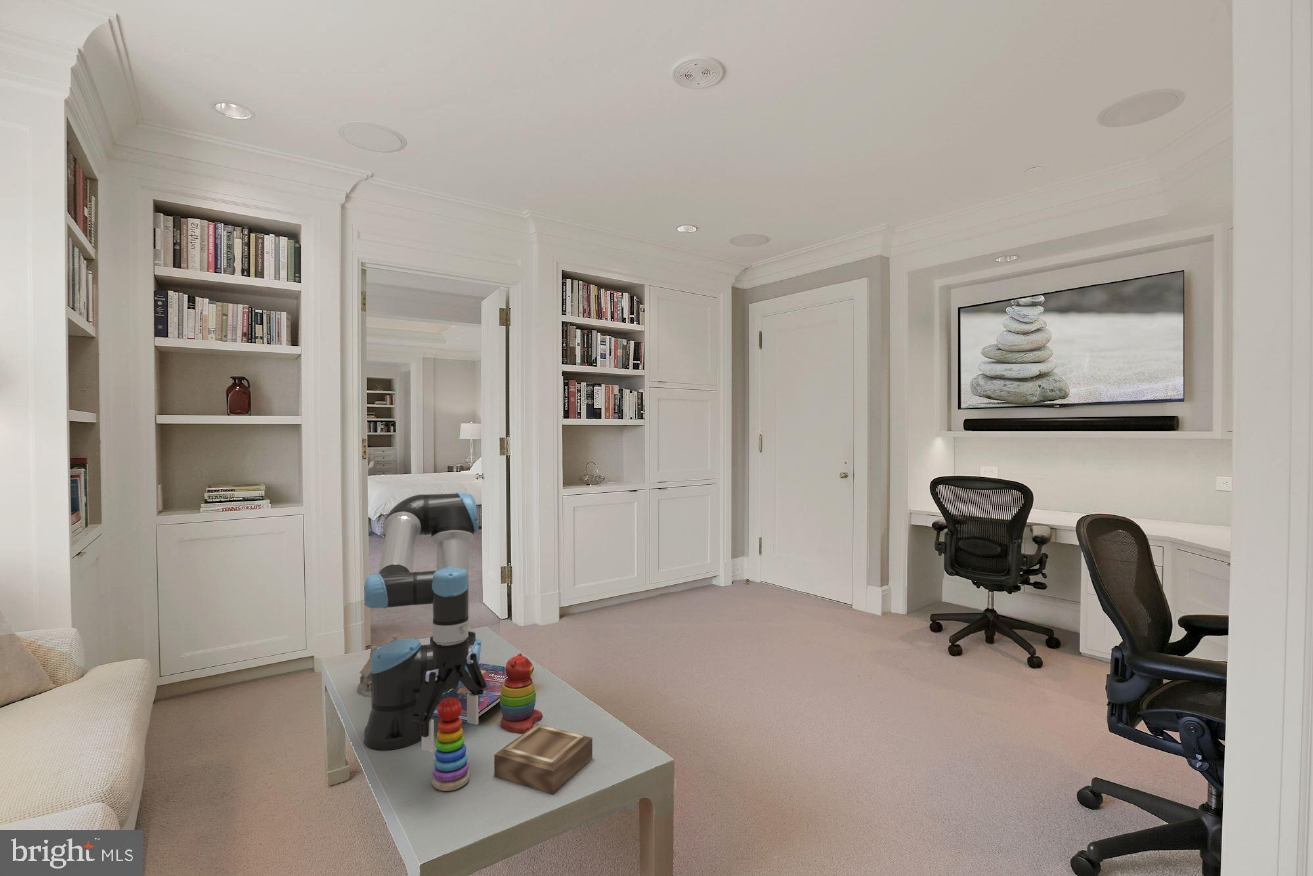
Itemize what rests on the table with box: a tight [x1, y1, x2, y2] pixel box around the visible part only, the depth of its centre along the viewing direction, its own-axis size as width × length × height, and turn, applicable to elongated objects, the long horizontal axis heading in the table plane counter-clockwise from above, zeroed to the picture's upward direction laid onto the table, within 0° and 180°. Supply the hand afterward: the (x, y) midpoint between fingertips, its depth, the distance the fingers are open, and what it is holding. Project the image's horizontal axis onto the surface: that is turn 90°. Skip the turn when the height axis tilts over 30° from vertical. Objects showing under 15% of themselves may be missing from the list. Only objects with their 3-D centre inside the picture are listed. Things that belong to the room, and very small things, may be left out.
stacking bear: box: [499, 652, 543, 734], centre depth 166 cm, size 11×10×18 cm
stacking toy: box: [431, 696, 471, 792], centre depth 138 cm, size 8×8×19 cm
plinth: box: [493, 723, 593, 795], centre depth 144 cm, size 16×16×6 cm
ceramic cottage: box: [356, 635, 398, 698], centre depth 187 cm, size 16×16×15 cm
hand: (451, 736), depth 137 cm, fingers open, 13 cm apart
